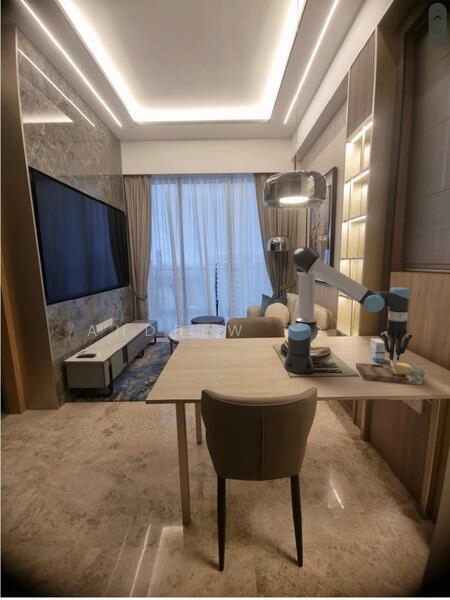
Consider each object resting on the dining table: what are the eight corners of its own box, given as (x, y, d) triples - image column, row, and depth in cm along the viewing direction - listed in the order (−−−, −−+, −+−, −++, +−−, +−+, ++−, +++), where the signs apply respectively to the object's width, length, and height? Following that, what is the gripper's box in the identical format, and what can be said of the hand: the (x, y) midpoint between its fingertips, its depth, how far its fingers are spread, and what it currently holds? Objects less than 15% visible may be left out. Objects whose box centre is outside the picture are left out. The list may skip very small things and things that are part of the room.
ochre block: (396, 373, 119) (397, 366, 119) (392, 368, 124) (393, 362, 124) (410, 374, 118) (411, 367, 117) (406, 370, 123) (406, 363, 122)
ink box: (384, 363, 137) (386, 343, 135) (374, 362, 138) (376, 342, 136) (378, 357, 145) (379, 338, 144) (369, 357, 146) (370, 338, 145)
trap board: (363, 379, 119) (364, 367, 118) (355, 367, 133) (356, 356, 132) (423, 384, 113) (424, 372, 112) (409, 371, 126) (410, 360, 126)
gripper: (385, 321, 116) (381, 368, 120) (417, 322, 113) (412, 370, 116) (379, 317, 123) (376, 362, 127) (409, 318, 120) (405, 364, 123)
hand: (393, 366), depth 122 cm, fingers closed
